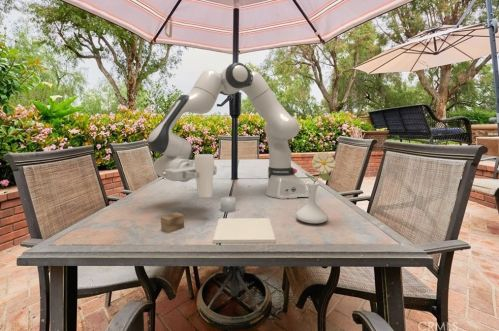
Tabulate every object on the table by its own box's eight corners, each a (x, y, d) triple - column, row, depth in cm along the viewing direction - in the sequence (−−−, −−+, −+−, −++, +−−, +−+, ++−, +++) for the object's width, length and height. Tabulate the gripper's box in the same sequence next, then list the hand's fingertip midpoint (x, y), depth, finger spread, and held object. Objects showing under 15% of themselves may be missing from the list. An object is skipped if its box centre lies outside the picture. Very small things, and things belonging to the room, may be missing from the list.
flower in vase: (292, 223, 87) (294, 152, 84) (298, 214, 98) (300, 150, 95) (332, 229, 83) (335, 153, 80) (333, 218, 94) (336, 150, 90)
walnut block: (177, 225, 86) (176, 212, 86) (184, 228, 84) (183, 214, 83) (161, 230, 82) (160, 217, 81) (168, 233, 79) (167, 219, 79)
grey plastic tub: (235, 208, 106) (235, 196, 105) (235, 212, 100) (235, 200, 99) (221, 208, 106) (221, 196, 105) (220, 212, 100) (219, 200, 99)
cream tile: (269, 221, 90) (269, 218, 90) (275, 242, 72) (275, 239, 72) (219, 221, 90) (219, 218, 90) (212, 243, 72) (212, 239, 72)
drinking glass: (191, 196, 91) (190, 154, 89) (206, 192, 96) (206, 153, 94) (203, 199, 86) (202, 156, 84) (218, 196, 91) (217, 154, 89)
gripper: (157, 165, 90) (181, 168, 81) (202, 160, 106) (226, 162, 97) (158, 182, 91) (182, 187, 82) (202, 174, 106) (226, 178, 98)
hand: (206, 174), depth 90 cm, fingers closed on drinking glass, 6 cm apart
